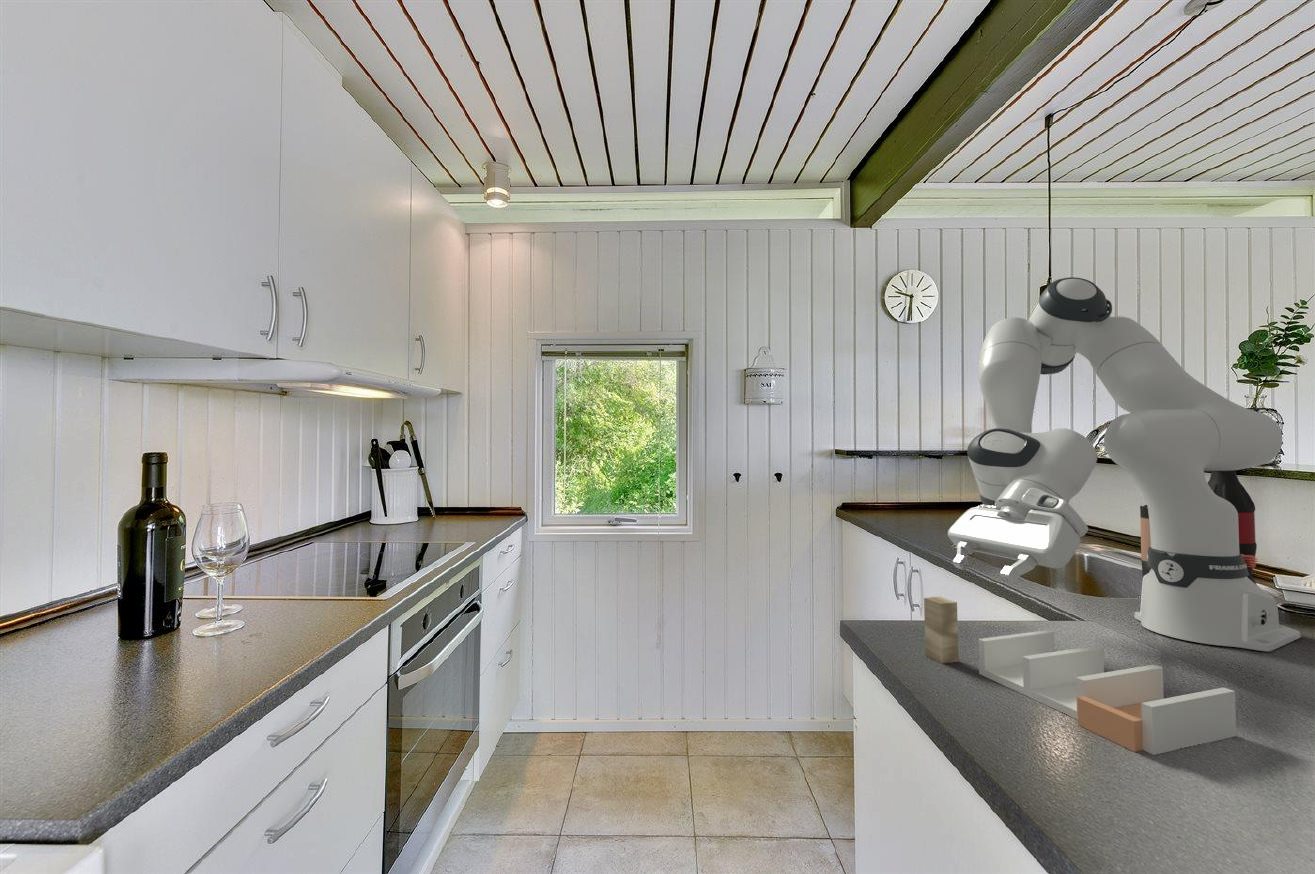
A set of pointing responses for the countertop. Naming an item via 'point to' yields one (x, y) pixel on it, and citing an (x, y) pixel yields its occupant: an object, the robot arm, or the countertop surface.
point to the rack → (1107, 694)
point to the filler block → (941, 629)
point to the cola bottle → (1235, 493)
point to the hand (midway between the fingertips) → (980, 572)
